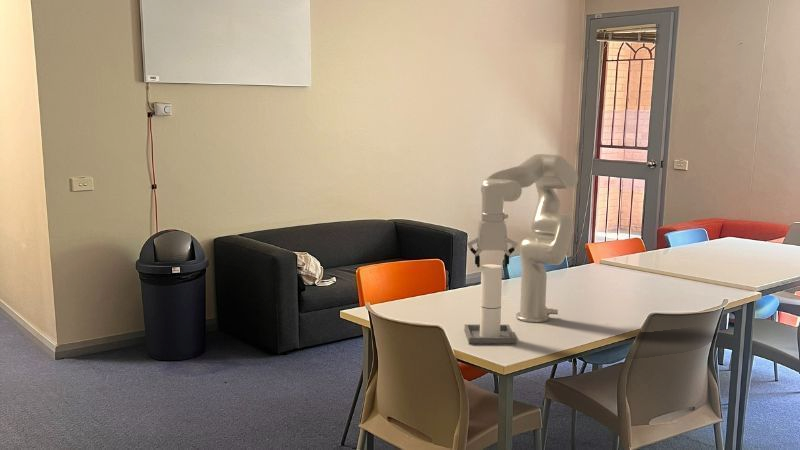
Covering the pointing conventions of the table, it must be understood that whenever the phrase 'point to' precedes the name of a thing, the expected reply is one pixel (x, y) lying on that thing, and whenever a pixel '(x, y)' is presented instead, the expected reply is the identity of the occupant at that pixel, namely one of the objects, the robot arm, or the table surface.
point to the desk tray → (475, 339)
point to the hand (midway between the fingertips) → (491, 266)
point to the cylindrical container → (490, 300)
